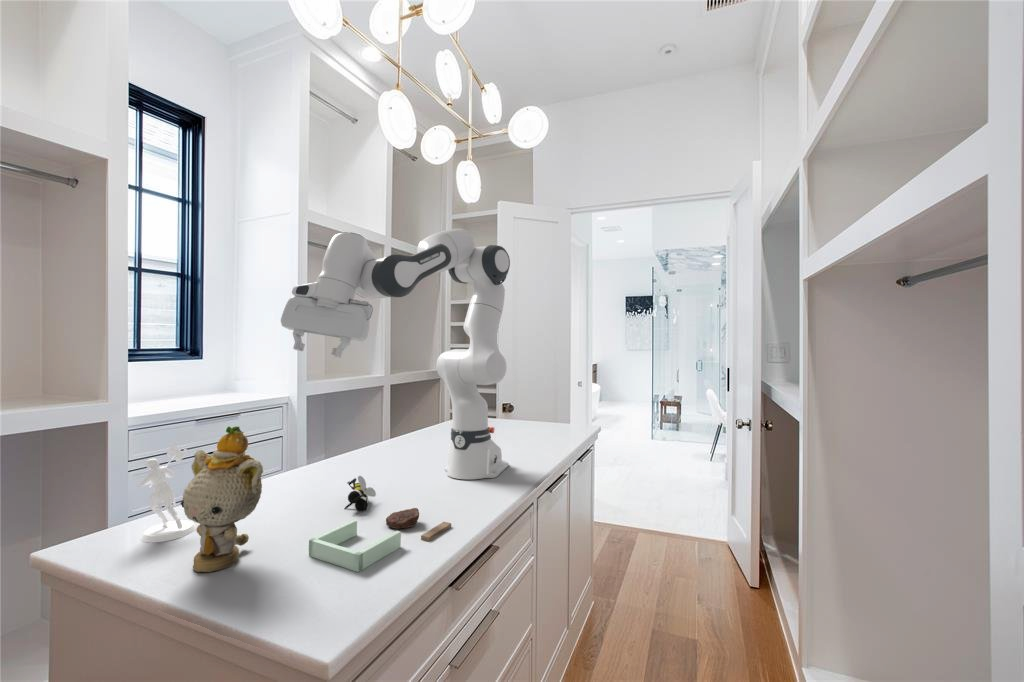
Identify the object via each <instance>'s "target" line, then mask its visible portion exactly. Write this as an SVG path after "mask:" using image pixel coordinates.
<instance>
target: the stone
mask: <svg viewBox="0 0 1024 682" xmlns="http://www.w3.org/2000/svg"><path fill="white" fill-rule="evenodd" d="M419 518H420V511H419V508H417V507H413V508H409V509H404V510H399V511H394V512H392V513H390V514H389V515H388V516H387V517H386V518H385V522H386V523H385V524H386V526H388V527H390V528H391V529H396V530H400V529H408V528H411V527H415V526H416V525H417V523H418V520H419Z"/></svg>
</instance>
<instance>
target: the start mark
mask: <svg viewBox="0 0 1024 682" xmlns="http://www.w3.org/2000/svg"><path fill="white" fill-rule="evenodd" d="M451 527H452V523H451V522H447V521H442V522H441V523H440V524H438V525H436V526H434V527H433V528H431V529H430V530H428V531H426V532H424V533H423V534H421V535H420V540H423V541H426V542H429V541H431V540H433V539H435V538H436V537H438V536H439V535H441V534H442V533H444V532H446V531H447V530H448V529H450V528H451Z"/></svg>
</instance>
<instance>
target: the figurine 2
mask: <svg viewBox="0 0 1024 682" xmlns="http://www.w3.org/2000/svg"><path fill="white" fill-rule="evenodd" d="M225 432H226V434H224V435H223V436H221V438H219V440H218V441H217V445H216V448H217V449H216V450H214V451H213V452H212V455H211V454H209V453H207V452H206V451H204V450H202V449H198V450H197V451H196V452H195V453H194V455H193V457H194V460H193V462H192V464H191V471H192V473H193V475H194V476H193V477H192V479H191V480H190V481H189V482H188V484H187V486H186V487H185V488H184V489H183V493H182V501H181V502H180V505H181V507H182V508H183V511H184V515H185V516H186V517H187V519H188V520H189V521H192V522H193V523H197V524H199V525H197V526H196V529H195V531H196V533H197V534H198V536H199V537H200V539H199V540H200V541H199V542H200V548H199V551H198V552H197V553H196V554H195V556H194V557H193V565H192V569H193V570H194V571H195V572H197V573H198V572H199V573H210V572H216V571H220V570H224V569H228V568H230V567H232V566H234V565H236V564H237V563H238V562H239V560H240V558H239V557H240V556H239V553H240V549H239V548H238V546H240V547H241V546H244V545H245V544H247V543H248V541H249V538H250V537H249V535H248V534H247V533H242V534H240V535H239V534H238V528H237V526H236V524H235V523H237V522H239V521H241V520H245V519H246V518H247V517H248V516H249V515H251V514H252V513H253V512H254V511H255V509H256V508H257V505H258V504H259V502H260V499H261V495H262V493H263V489H262V488H263V483H262V474H264V468H263V465H262V463H261V461H259V460H256V459H255V458H253V457H251V456H250V455H249V454H246V451H247V449H248V448H249V441H248V437H247V436H246V434H244V431H242V430H241V428H240V426H233V427H231V426H227V428H226V430H225Z"/></svg>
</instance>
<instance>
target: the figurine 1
mask: <svg viewBox="0 0 1024 682" xmlns="http://www.w3.org/2000/svg"><path fill="white" fill-rule="evenodd" d="M179 446H180V445H179V444H178V443H175V444H173V445H171V447H170V448H169V449H168V450H167V452H166V457H167V458H170V457H171V455H173V456H172V457H171V458H170V459H169V461H168V462H167V464H166V465H163V466H161V464H160V462H159V459H157V458H150V459H147V460H146V465H145V467H146V469H147V470H151V471H150V472H148V473H146V474H145V476H144V477H143V478H142V480H141V481H140V482H139V483H138V484H137V487H140V488H142V487H145V486H148V489H150V488H152V486H153V485H154V486H153V487H154V488H153V491H152V493H151V494H150V496H149V503H148V504H149V506H148V509H149V510H151V511H153V512H154V513H155V514H156V515H157V517H159V518H160V519H161V521H162V523H159V524H156V525H153V526H151V527H149V528H148V529H146V530H144V532H143V534H142V535H141V536H140V541H141V542H143V543H147V544H149V543H152V544H153V543H162V542H168V541H172V540H176V539H179V538H182V537H185V536H188V535H190V534H192V533H193V532H194V531H196V529H197V526H196V524H195V522H194V521H193V520H189V519H188V520H185V519H184V520H183V519H180V518H179V515H178V512H177V511H176V509H175V508H174V507H176V506H177V505H176V504H177V503H176V499H175V493H174V489H173V487H172V486H170V483H169V482H167V480H165V479H166V478H169V479H172V478H174V477H175V472H174V471H173V470H171V469H169V467H168V466H169V465H170V464H171V463H172V461H173V460H174V459H175V457H177V458H176V459H175V461H176V462H180V461H182V460H183V459H184V458H185V456H186V455H187V453H188V449H187V448H184V449H183V451H182V450H181V448H179V449H178V448H177V447H179ZM163 506H164V508H165V509H166V511H167V512H168V514H169V515H170V516H171V517H172V518H173V520H174V521H172V520H171V521H170V520H169V518H167V517H166V515H165V513H164V511H163V510H162V509H163ZM172 506H173V507H172Z"/></svg>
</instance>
